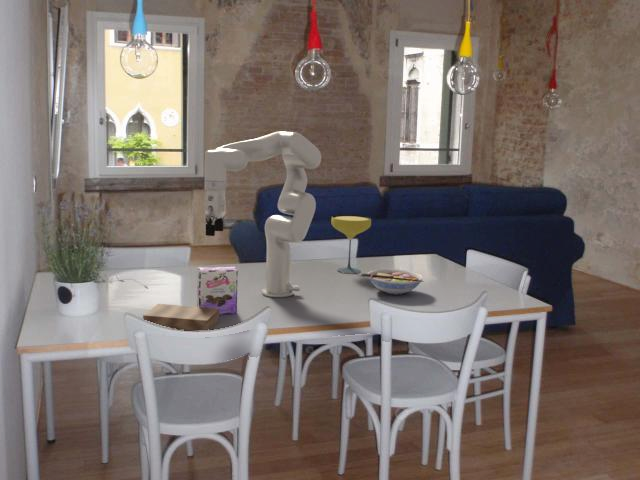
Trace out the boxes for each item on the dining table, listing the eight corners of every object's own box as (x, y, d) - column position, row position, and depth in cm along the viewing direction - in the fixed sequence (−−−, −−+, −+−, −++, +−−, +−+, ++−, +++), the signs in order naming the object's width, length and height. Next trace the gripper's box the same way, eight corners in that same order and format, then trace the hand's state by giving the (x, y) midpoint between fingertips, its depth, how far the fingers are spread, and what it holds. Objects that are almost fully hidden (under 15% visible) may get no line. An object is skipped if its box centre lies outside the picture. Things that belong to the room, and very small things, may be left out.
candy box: (198, 315, 251) (198, 270, 248) (196, 311, 256) (197, 266, 253) (237, 314, 255) (238, 269, 251) (234, 309, 260) (235, 265, 257)
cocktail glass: (321, 269, 327) (323, 216, 322) (349, 264, 339) (351, 213, 334) (348, 277, 314) (351, 222, 309) (376, 272, 326) (379, 218, 321)
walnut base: (218, 319, 247) (219, 308, 247) (207, 332, 234) (207, 320, 233) (158, 314, 250) (158, 303, 249) (143, 326, 237) (143, 315, 236)
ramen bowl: (427, 289, 300) (429, 270, 298) (420, 303, 278) (421, 283, 277) (370, 283, 306) (371, 264, 305) (358, 296, 285) (359, 276, 283)
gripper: (218, 188, 240) (217, 238, 243) (232, 183, 257) (231, 230, 260) (196, 187, 241) (196, 236, 244) (212, 182, 258) (212, 228, 261)
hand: (214, 233), depth 252 cm, fingers open, 9 cm apart
